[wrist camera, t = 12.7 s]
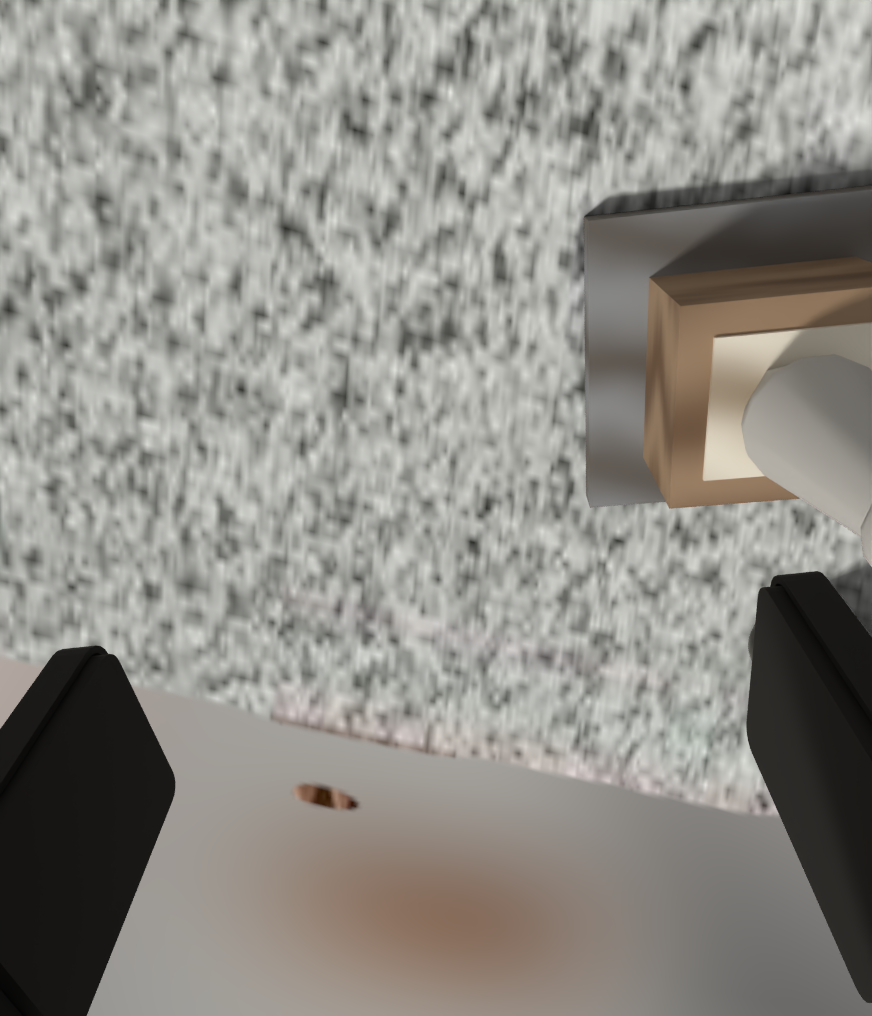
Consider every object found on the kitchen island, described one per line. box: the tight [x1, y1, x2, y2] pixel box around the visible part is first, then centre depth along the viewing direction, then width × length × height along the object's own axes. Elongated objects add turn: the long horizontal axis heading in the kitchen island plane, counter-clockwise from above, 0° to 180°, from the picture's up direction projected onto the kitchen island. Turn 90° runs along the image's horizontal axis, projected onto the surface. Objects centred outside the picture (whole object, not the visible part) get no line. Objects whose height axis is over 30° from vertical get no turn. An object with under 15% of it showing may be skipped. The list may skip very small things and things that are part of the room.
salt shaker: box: [741, 354, 872, 567], centre depth 27 cm, size 6×6×13 cm
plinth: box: [584, 185, 872, 508], centre depth 36 cm, size 16×16×8 cm
